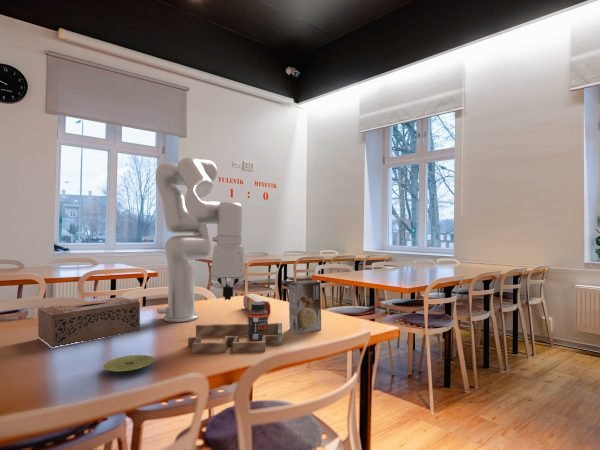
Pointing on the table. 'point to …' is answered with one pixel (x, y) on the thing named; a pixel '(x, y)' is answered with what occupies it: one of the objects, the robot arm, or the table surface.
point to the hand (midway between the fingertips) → (227, 298)
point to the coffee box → (304, 306)
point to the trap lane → (233, 338)
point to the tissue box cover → (88, 320)
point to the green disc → (128, 363)
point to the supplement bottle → (257, 322)
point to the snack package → (253, 298)
